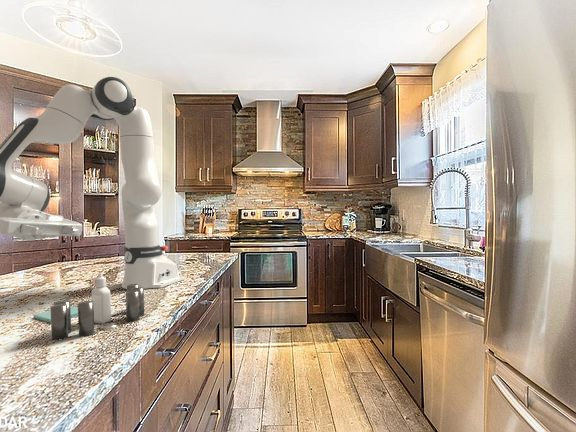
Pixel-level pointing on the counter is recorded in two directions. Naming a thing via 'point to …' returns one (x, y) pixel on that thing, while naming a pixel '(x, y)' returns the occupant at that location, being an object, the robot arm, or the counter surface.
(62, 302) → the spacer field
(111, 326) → the grey flat disc
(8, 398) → the counter surface
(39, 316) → the pad
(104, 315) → the eye dropper bottle
